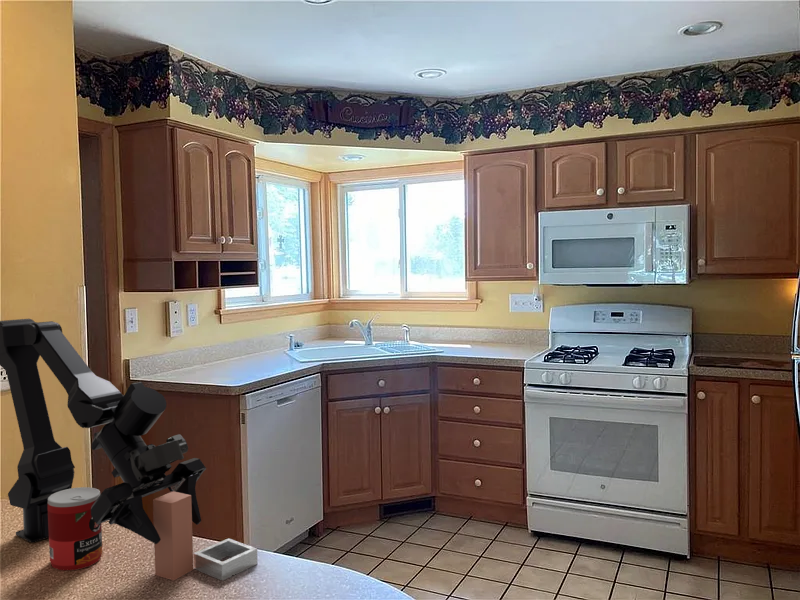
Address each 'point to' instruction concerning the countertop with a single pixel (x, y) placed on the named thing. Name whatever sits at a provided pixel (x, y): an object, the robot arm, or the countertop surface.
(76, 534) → the canned food
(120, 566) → the countertop surface
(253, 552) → the gray square planter
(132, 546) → the countertop surface
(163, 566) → the salmon brown rectangular block
